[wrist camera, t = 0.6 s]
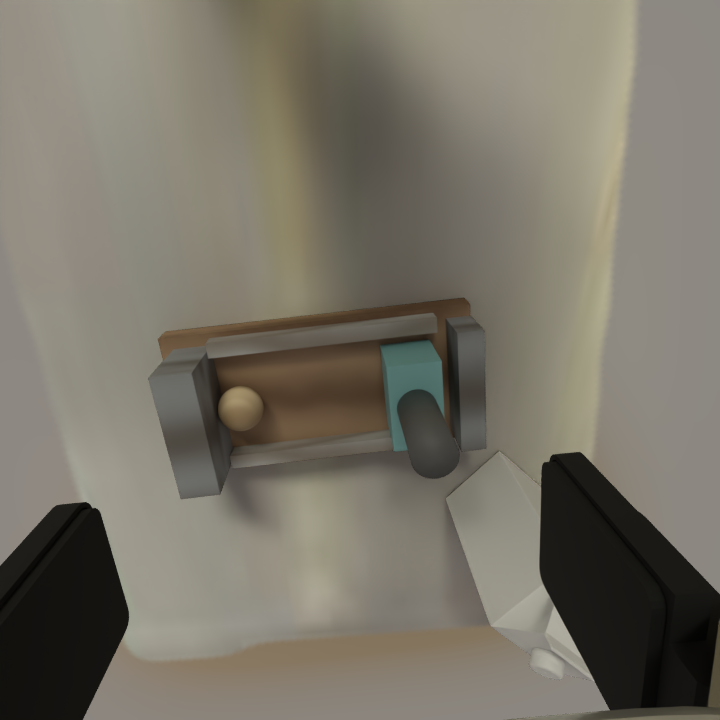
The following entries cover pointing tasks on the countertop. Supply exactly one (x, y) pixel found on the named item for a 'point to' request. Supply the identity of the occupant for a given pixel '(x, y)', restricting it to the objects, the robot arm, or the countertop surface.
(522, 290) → the countertop surface
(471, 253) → the countertop surface
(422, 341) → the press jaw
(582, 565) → the robot arm
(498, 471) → the milk carton
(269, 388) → the base
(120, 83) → the countertop surface
